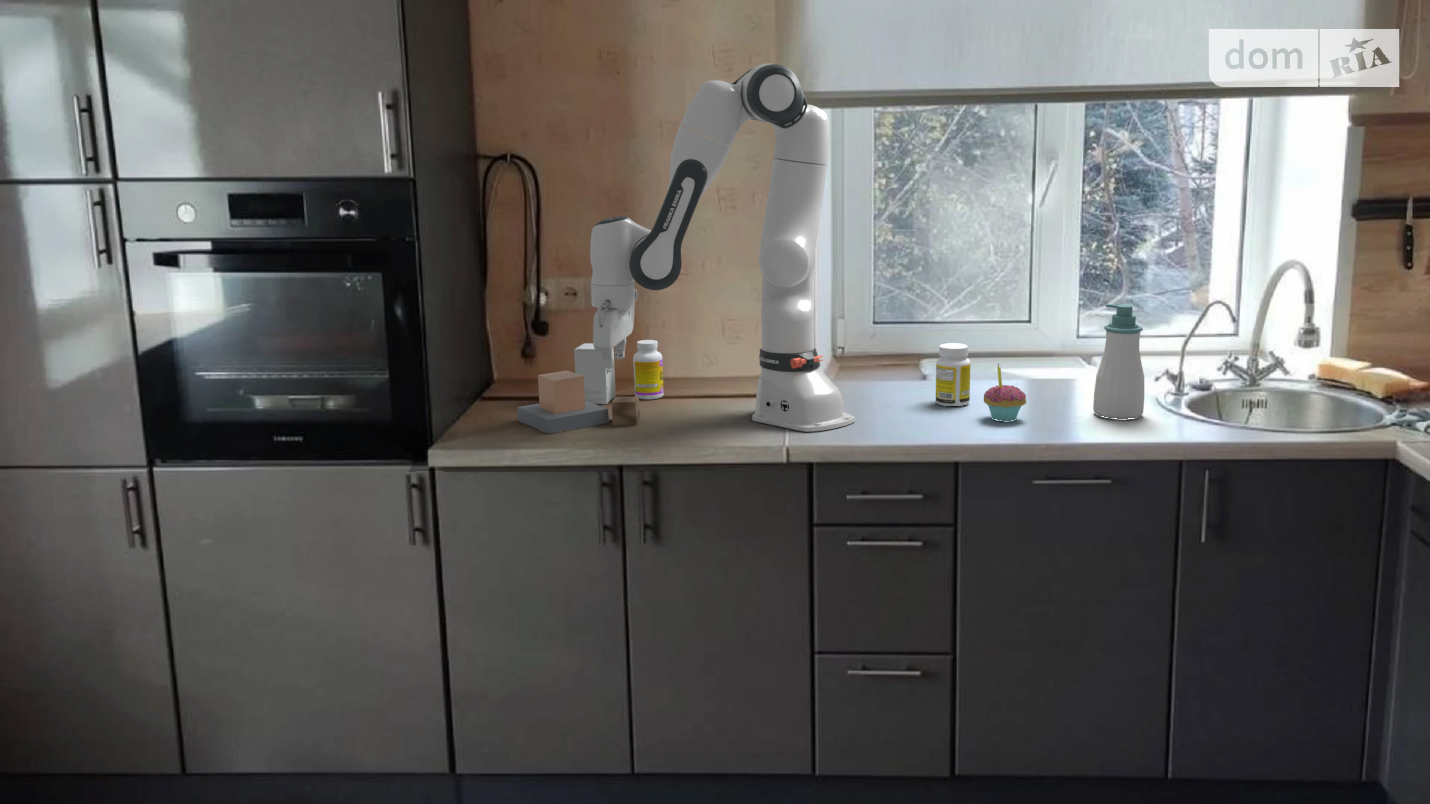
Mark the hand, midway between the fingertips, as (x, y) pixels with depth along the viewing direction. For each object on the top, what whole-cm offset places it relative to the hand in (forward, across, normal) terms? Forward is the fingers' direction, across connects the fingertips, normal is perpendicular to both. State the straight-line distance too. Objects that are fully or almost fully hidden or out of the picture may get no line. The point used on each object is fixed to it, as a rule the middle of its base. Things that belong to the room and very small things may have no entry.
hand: (614, 363), depth 237 cm
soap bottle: (+10, +14, -103) cm, 105 cm away
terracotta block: (+10, -1, +11) cm, 15 cm away
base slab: (+13, 0, +11) cm, 17 cm away
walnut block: (+13, 0, -2) cm, 13 cm away
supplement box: (+13, +18, +9) cm, 24 cm away
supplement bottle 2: (+11, +21, -70) cm, 74 cm away
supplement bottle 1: (+13, +23, -2) cm, 26 cm away
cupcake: (+11, +8, -80) cm, 81 cm away
